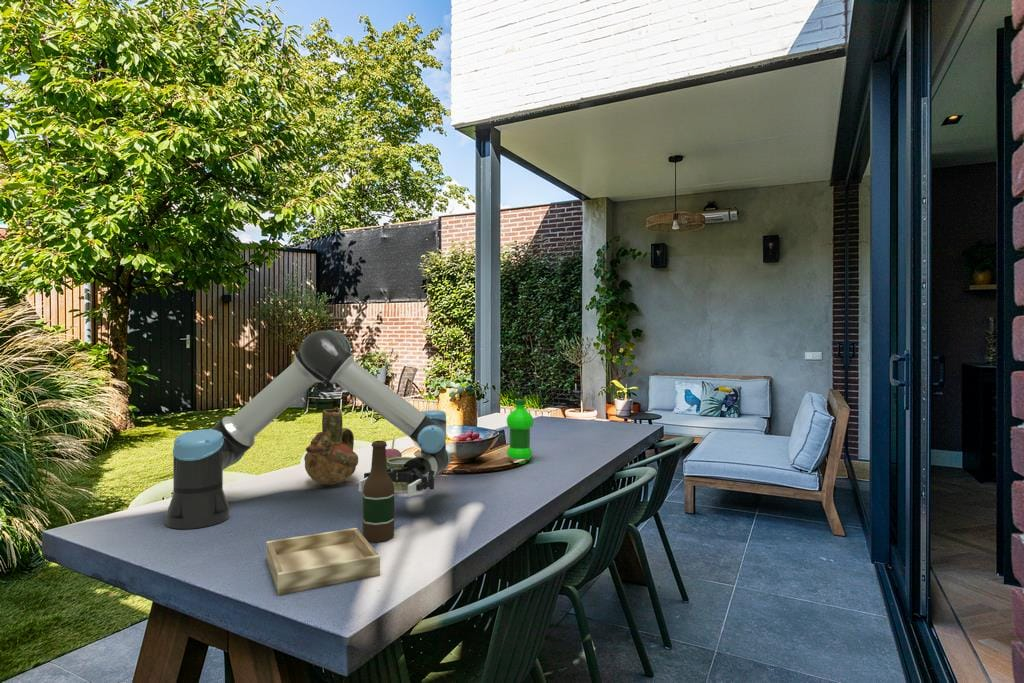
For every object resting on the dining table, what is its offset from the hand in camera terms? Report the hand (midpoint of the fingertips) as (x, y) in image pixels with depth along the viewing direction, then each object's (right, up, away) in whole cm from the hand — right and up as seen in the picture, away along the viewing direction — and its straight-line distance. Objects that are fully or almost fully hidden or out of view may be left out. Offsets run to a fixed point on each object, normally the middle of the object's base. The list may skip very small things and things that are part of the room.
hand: (384, 488), depth 144 cm
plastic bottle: (+35, -11, +84) cm, 91 cm away
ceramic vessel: (-29, -11, +48) cm, 58 cm away
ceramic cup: (-2, -11, +41) cm, 42 cm away
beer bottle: (-1, -12, -1) cm, 12 cm away
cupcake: (-14, -11, +73) cm, 75 cm away
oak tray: (-9, -12, -20) cm, 25 cm away
